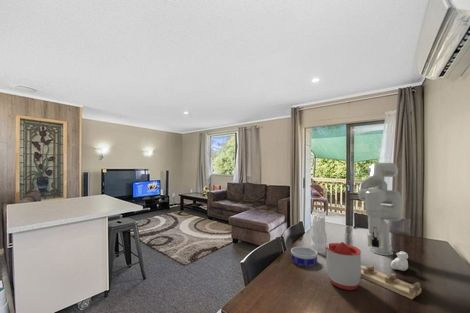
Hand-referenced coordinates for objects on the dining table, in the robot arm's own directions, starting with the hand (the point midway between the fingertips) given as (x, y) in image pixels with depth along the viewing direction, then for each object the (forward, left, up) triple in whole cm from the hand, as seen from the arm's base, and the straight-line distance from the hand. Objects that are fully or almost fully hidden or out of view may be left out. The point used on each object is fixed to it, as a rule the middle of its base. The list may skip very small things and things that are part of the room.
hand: (375, 245), depth 119 cm
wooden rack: (+12, +7, -13) cm, 19 cm away
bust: (-11, +7, -13) cm, 19 cm away
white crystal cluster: (+5, -34, -13) cm, 36 cm away
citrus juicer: (+31, -1, -13) cm, 34 cm away
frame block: (0, 0, -1) cm, 1 cm away
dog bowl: (+27, -28, -13) cm, 41 cm away
